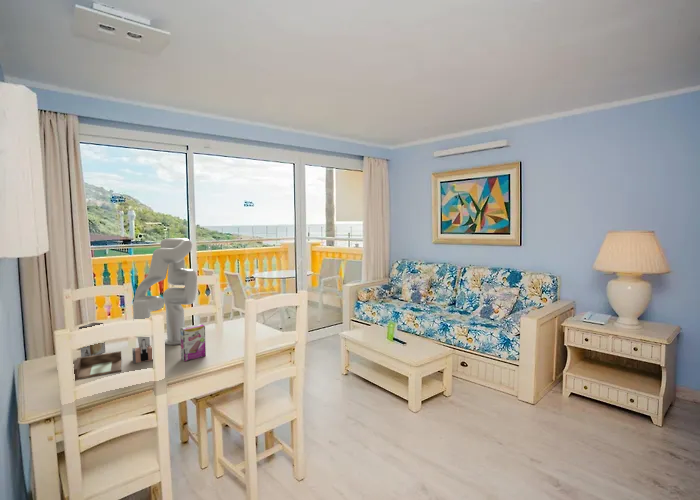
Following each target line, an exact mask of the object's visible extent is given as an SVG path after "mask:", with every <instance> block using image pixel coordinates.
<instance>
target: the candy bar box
mask: <svg viewBox="0 0 700 500" xmlns="http://www.w3.org/2000/svg"><path fill="white" fill-rule="evenodd" d="M180 341H181V344H180V360H182V361H183V362H187V361H191V360H195V359H199V358H203V357H206V352H207V351H206V350H207V349H206V325H204V324H202V323H200V324H194V325H187V326H185V327H183V328H180Z"/></svg>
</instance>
